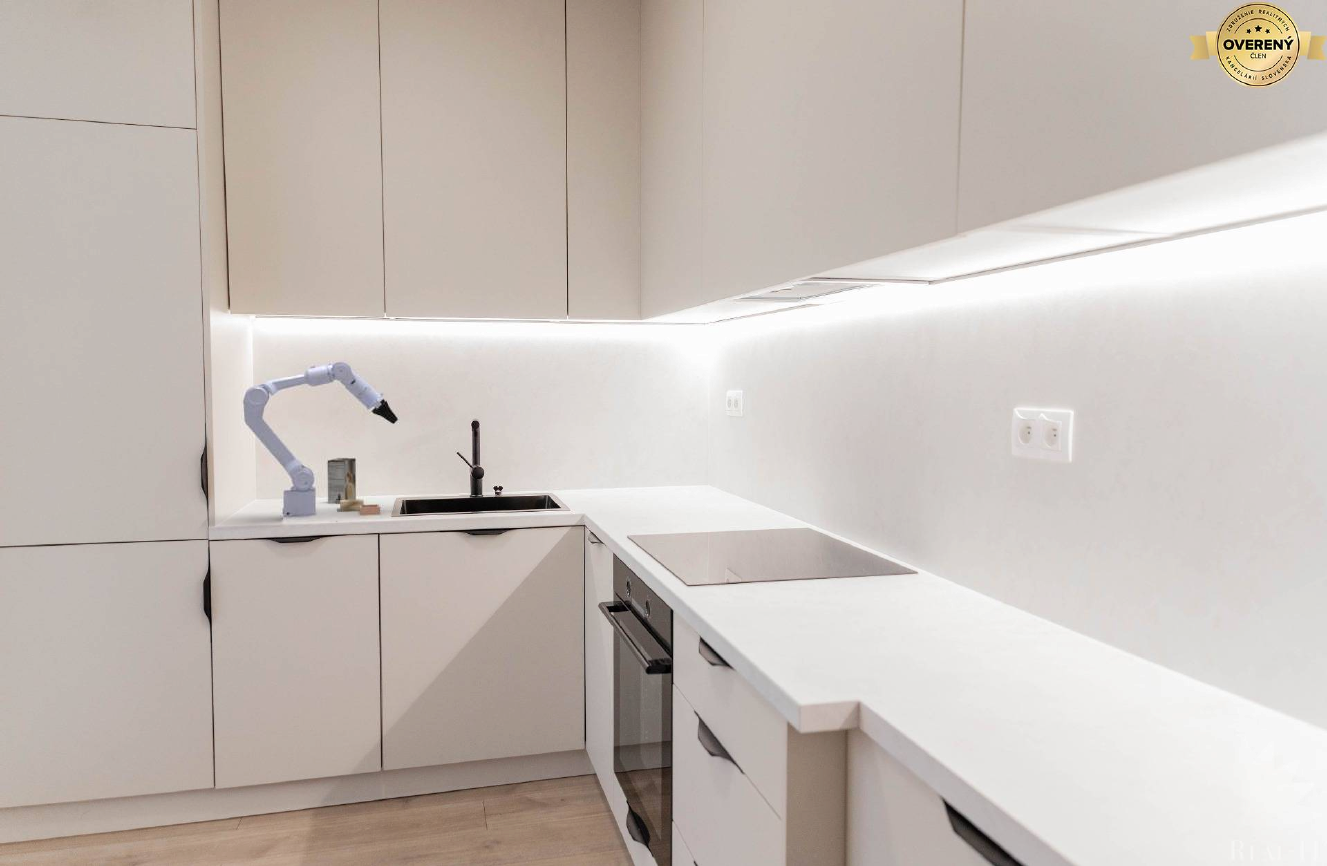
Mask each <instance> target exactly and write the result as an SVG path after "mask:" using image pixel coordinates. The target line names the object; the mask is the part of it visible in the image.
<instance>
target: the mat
mask: <svg viewBox="0 0 1327 866" xmlns="http://www.w3.org/2000/svg"><path fill="white" fill-rule="evenodd" d="M336 511H337V513H349V512H351V513H352V512H354V511H340V508H336Z"/></svg>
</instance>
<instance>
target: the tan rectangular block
mask: <svg viewBox="0 0 1327 866" xmlns="http://www.w3.org/2000/svg"><path fill="white" fill-rule="evenodd" d="M359 505H365V503H364V499H363V498H356V499H352V500H340V504H339V509H340V511H353V512H359Z"/></svg>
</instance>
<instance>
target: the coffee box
mask: <svg viewBox="0 0 1327 866" xmlns="http://www.w3.org/2000/svg"><path fill="white" fill-rule="evenodd" d="M356 462H357V461H356V458H355V457H354V458H351V457H350V458H349V457H337V458H334V459H329V460H327V504H336V505H340V500H352V499H357V492H356V491H357V488H356V487H357V485H356V484H357V483H356V481H357V480H356V478H357V476H356V474H357V473H356V469H357V467H356Z"/></svg>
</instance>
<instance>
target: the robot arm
mask: <svg viewBox="0 0 1327 866" xmlns="http://www.w3.org/2000/svg"><path fill="white" fill-rule="evenodd" d="M335 380H336V381H337V382H338V381H340V383H341V384H342V385H343V386H344V388H345V390H347V391H348V392H349V393H350V394H352V396H354V397H355V399H357V400H358V401H359V402H360V403H361V404H362V405H364V406H365V408H366V409H367V410H370V409H372V408H373V407H374V408H373V409H372V410H371V413H372V414H374V415H377V416H378V417H379V416H380V417H382V418H383V419H385V420H386V421H388V422H389V423H391V424H393V425H395V423H397V421H398V420H399V418H398V417H397V416H396V414H395V413H394V411H393V410H392V409H391V407H390V405H389V403H388V401H387V400H386V399H384V398H383V399H382V397H383V396H384V395H385V394H384V392H381V393H379V392H377V390H375V389H374V388H373V387H372V385H370V384H369V383H368V382H367V381H366V380H365V379H363V377H361V376H360V375H358V374H357V373H356V372H355V371H353V370H352V368H351V366H350V365H349V364H348V363H346V362H343V361H339V362H334V363H332V362H328V363H327V364H325V365H320V366H316V365H311V366H310V368H307V369H306V370H305V372H304V373H302V374H298V375H293V376H287V377H281V378H277V379H270V380H268V381H266V382H263V383H260V384H259V385H254V386H251V387H249V388H248V389H247V390H246V392H245V393H244V397H243V399H242V400H243V401H242V402H243V403H242V404H243V418H244V419H243V420H244V423H245V425H246V426H248V429H250V430H251V432H253V434H254V435H255V436H256V437H257V439H258V440H260V442H261V443H262V444H263V445H264V447H266V449H267V450H268V452H269V453H270V454H271V455H272V456H273V457H274V458H275V459H276V460H277V462H278V464H280V465H281V466H282V467H283V469H284V470H285V472H286V473H287V474H288V475H289V477H290V478H291V482H292V485H293V486H291V487H290V489H289V490H283V507H282V515H283V517H307V516H314V515H316V513H317V509H316V508H317V507H316V501H317V500H316V494H317V493H316V487H315V486H314V483H315V476H314V472H313V470H311V468H309V467H307V466H305V465H303V464H302V463H301V461H300V460H299V459H297V457H296V456H295V455H294V454H293V453H292V451H291V450H290V449H289V448H288V446H287V445H286V444H285V443H284V442H283V441H282V440H281V438H280V437H279V436H278V435H277V434H276V433H275V431H274V430H273V429H272V428H271V427H270V425H269V424H268V423H267V422H266V421H265V420H264V412H265V411H264V410H265V407H266V406H267V403H268V402H269V399H270V396H271V397H272V396H274V395H275V394H277V392H279V391H281V390H285V389H289V388H294V387H296V386H303V385H306V384H307V385H308V386H311V387H316V386H317V387H318V386H322V385H326V384H331V383H333V382H334V381H335Z"/></svg>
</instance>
